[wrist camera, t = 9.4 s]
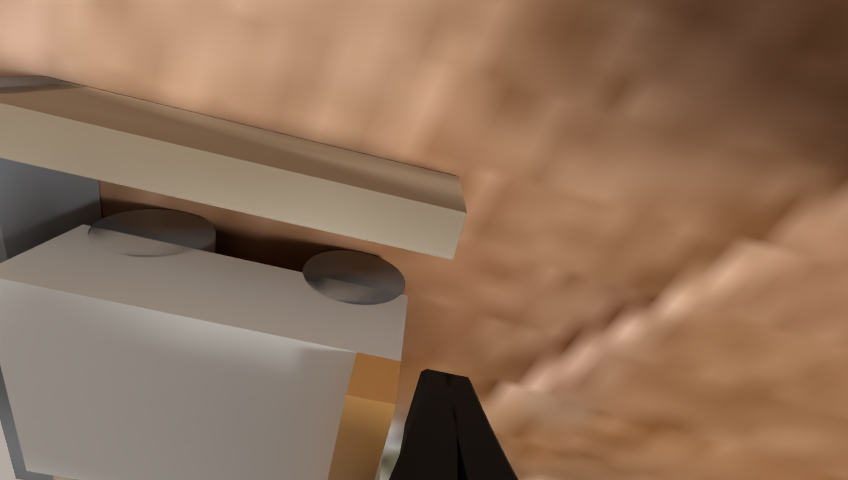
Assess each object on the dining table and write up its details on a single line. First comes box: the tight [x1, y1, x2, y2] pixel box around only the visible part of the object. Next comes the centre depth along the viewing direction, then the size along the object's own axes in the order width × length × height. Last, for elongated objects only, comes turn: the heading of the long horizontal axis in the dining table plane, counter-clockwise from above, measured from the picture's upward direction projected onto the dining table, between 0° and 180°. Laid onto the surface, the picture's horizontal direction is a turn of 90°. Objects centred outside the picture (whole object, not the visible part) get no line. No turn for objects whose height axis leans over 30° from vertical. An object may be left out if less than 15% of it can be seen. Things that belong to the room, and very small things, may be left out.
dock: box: [0, 76, 467, 480], centre depth 10 cm, size 10×10×2 cm
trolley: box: [0, 209, 408, 480], centre depth 9 cm, size 7×5×5 cm
